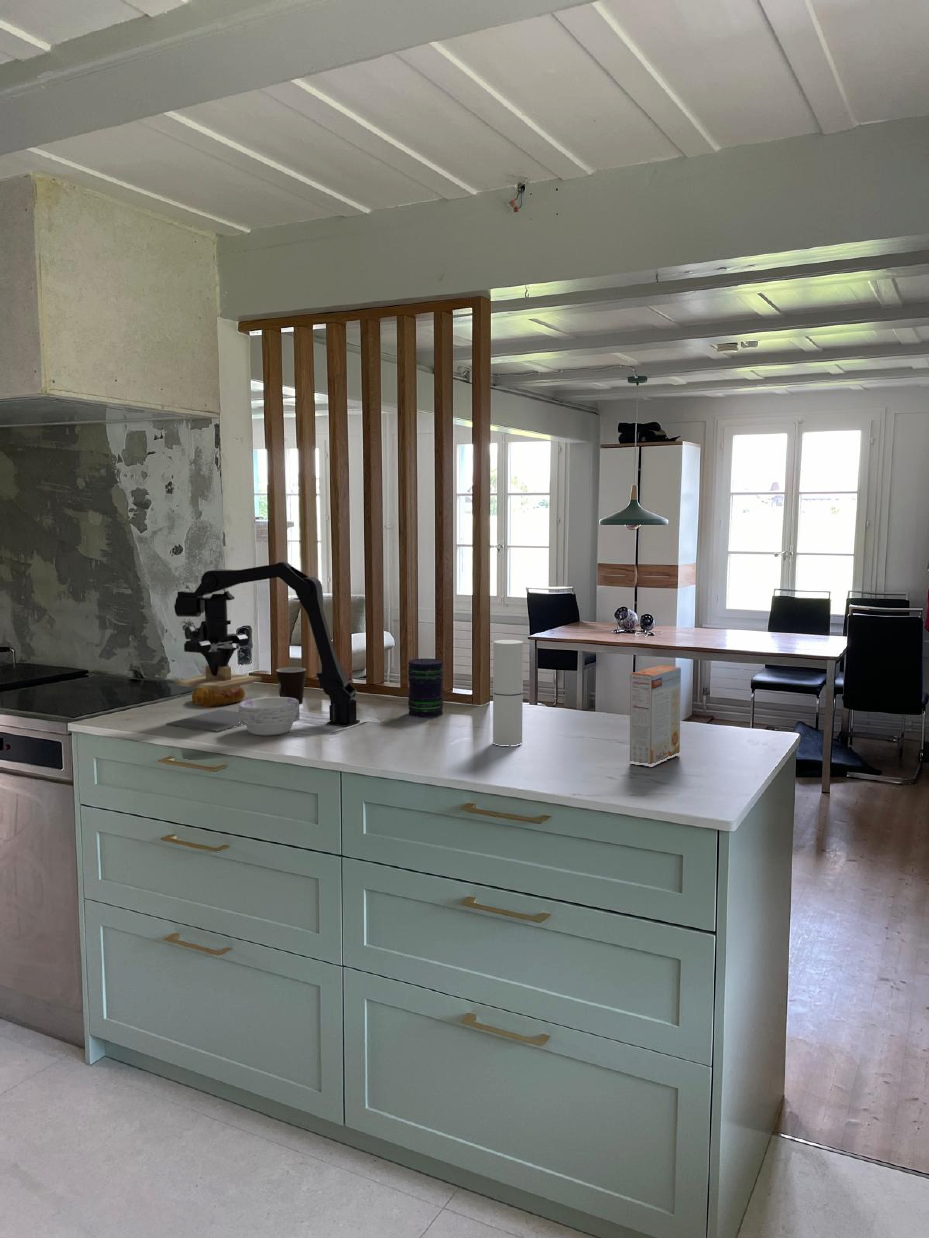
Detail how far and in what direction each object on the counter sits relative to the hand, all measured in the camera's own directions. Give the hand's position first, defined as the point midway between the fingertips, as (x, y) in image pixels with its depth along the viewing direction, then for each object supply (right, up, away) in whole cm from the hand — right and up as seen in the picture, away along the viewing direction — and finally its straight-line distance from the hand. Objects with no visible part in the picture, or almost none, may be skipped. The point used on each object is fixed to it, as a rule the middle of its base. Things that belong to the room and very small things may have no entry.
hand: (217, 674), depth 249 cm
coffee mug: (+15, -10, +27) cm, 33 cm away
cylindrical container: (+77, -16, -23) cm, 81 cm away
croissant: (-7, -10, +28) cm, 30 cm away
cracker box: (+109, -17, -38) cm, 117 cm away
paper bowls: (+16, -14, -11) cm, 24 cm away
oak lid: (0, -2, 0) cm, 2 cm away
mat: (0, -13, +1) cm, 13 cm away
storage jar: (+55, -12, +11) cm, 58 cm away
